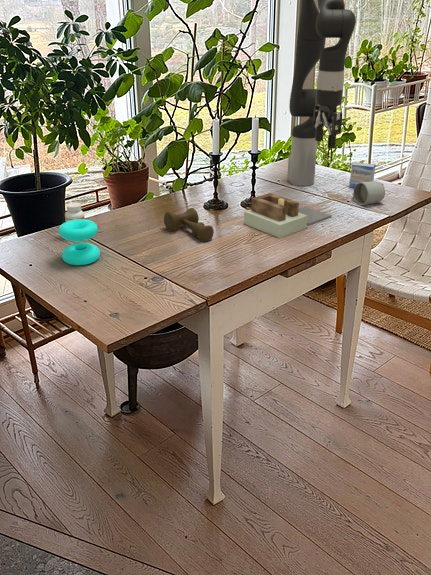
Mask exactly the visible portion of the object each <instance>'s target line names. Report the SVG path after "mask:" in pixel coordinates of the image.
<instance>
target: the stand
mask: <svg viewBox="0 0 431 575" xmlns="http://www.w3.org/2000/svg"><path fill="white" fill-rule="evenodd" d="M278 205H283V206H284V199H283V198H280V199H278ZM243 213H244V214H243V225H246V226H249V227H251V228H253V229H256V230H259V231H261V232H264V233H266V234H269V235H271V236H273V237H275V238H279V239H280V238H283V237H286V236H289V235H292V234H294V233H296V232H299V231H303V230H305V229H307V228H308V225H307V218H308V216H307V215H305V214H302V213H299V212H298V216H295V217H290V216H288V215H287V214H286V220H283V221H280V222H279V221H277V220H274V219H272V218H269V217H266V216H264V215H261V214H258V213H256V212H253V211H251V208H250V209H248V210H244V211H243Z"/></svg>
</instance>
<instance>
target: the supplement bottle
mask: <svg viewBox="0 0 431 575" xmlns="http://www.w3.org/2000/svg"><path fill="white" fill-rule="evenodd" d="M64 214H65V215H64V217H65V222H67V221H70V220H76V219H85V212H84V211H83V210H82V205H81V203H80V202H70V203H67V204H66V212H64Z"/></svg>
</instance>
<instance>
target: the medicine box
mask: <svg viewBox="0 0 431 575" xmlns="http://www.w3.org/2000/svg"><path fill="white" fill-rule="evenodd" d="M375 173H376V164H375V163H364V162H356V161H354V162H353V163H352V164H351V169H350V177H349V186H348V187H349V188H350V189H354V187H355V185H356V184H357V183H359V182H371V181H374V180H375Z"/></svg>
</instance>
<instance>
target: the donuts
mask: <svg viewBox="0 0 431 575" xmlns="http://www.w3.org/2000/svg"><path fill="white" fill-rule="evenodd" d="M98 229H99V228H98V225H97V224H96V222H95V221H92V220H90V219H76V220H70V221H67V222H66V221H65V222H63V223H62V224H61V225H60V226H59V227H58V234H59V236H60V237H61V238H62V239H64V240H66V241H69V242H76V243H72V244H70V245H67V246H66V247H65V248H64V249H63V250H62V253H61V258H62V260H63V261H64V262H65V263H66V264H69V265H71V266H86V265H89V264H92V263H94V262H96V261H98V259H99V258H100V256H101V251H100V248H98V246H97V245H95V244H93V243H89V242H85V241H87V240H90V239H92V238H94V237H95V236H96V234H97V233H98Z"/></svg>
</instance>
